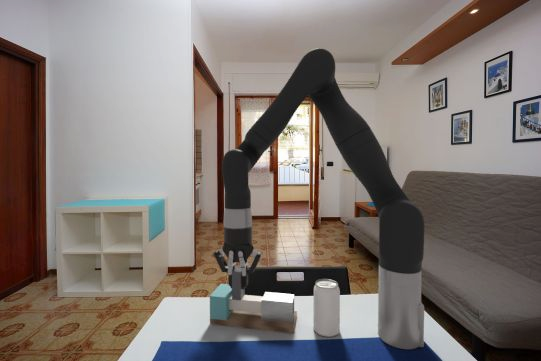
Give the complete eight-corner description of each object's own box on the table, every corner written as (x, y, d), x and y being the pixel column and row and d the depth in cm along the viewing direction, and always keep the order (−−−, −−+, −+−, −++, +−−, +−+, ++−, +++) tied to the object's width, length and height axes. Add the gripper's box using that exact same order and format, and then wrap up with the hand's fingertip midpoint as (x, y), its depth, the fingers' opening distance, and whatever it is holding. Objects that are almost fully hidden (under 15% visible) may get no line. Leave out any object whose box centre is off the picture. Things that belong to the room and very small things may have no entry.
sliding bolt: (272, 307, 74) (272, 269, 74) (269, 314, 70) (269, 274, 70) (223, 302, 77) (223, 266, 76) (218, 309, 73) (218, 270, 73)
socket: (235, 305, 78) (235, 284, 78) (226, 320, 70) (226, 297, 70) (221, 303, 79) (220, 283, 79) (209, 318, 71) (209, 296, 71)
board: (296, 316, 75) (296, 311, 75) (293, 333, 67) (293, 327, 67) (221, 309, 79) (221, 303, 79) (210, 324, 71) (209, 318, 71)
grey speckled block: (294, 313, 74) (294, 294, 73) (292, 323, 69) (292, 302, 69) (265, 311, 75) (265, 291, 75) (261, 320, 70) (261, 299, 70)
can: (340, 339, 65) (340, 289, 64) (312, 336, 66) (313, 287, 66) (339, 324, 71) (339, 279, 71) (314, 321, 72) (314, 277, 72)
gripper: (266, 222, 76) (266, 284, 76) (218, 221, 78) (219, 280, 79) (259, 228, 68) (260, 296, 69) (207, 226, 71) (208, 291, 71)
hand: (238, 287), depth 74 cm, fingers closed on sliding bolt, 2 cm apart
